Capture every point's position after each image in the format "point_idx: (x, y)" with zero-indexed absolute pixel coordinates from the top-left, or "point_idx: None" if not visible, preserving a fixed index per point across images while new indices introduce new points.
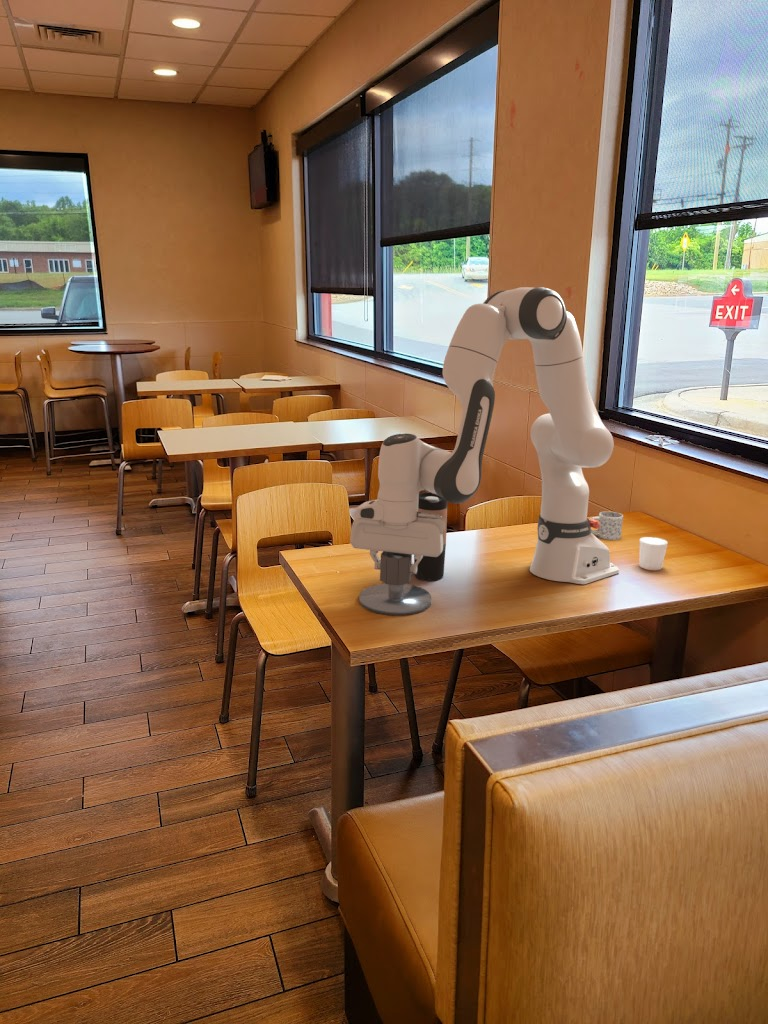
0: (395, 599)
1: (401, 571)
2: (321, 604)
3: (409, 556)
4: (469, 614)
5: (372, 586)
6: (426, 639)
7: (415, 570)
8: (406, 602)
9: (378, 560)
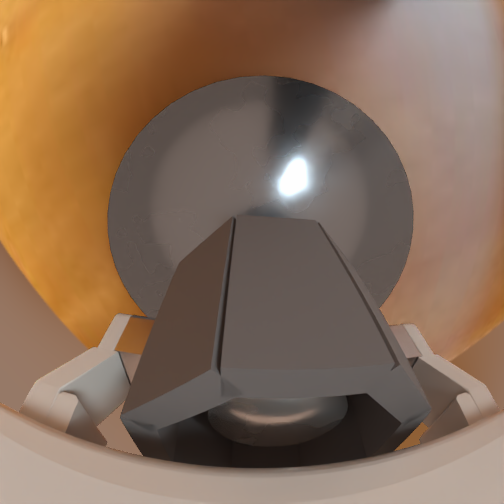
0: None
1: None
2: (55, 310)
3: (392, 449)
4: (477, 282)
5: (129, 159)
6: None
7: None
8: None
9: (123, 374)
